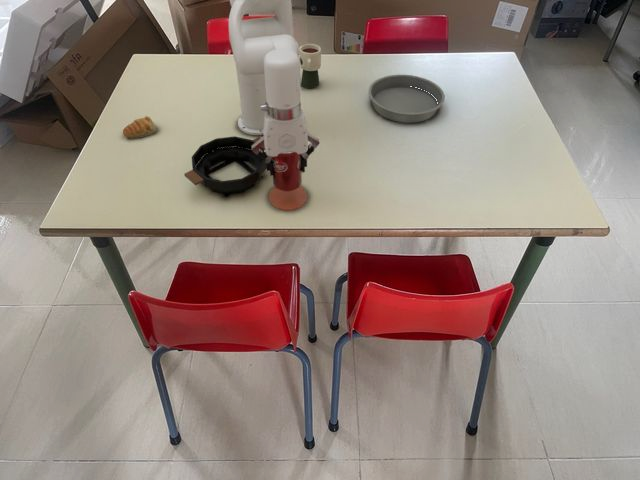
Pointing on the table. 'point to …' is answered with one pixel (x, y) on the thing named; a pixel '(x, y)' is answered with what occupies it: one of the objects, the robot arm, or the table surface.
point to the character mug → (310, 64)
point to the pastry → (140, 128)
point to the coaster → (288, 199)
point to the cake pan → (405, 98)
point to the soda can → (287, 171)
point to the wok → (232, 153)
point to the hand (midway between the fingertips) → (286, 170)
